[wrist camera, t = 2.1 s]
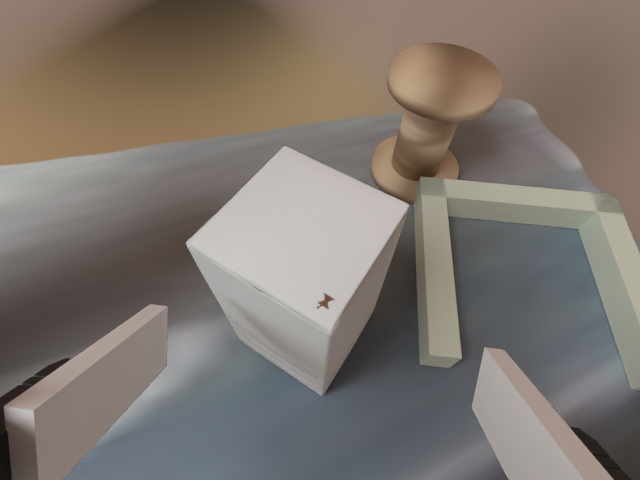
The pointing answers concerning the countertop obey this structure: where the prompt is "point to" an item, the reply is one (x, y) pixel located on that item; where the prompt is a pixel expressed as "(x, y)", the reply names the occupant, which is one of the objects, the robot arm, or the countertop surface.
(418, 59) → the bobbin
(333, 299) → the supplement box
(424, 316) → the u-shaped bracket
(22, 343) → the countertop surface
